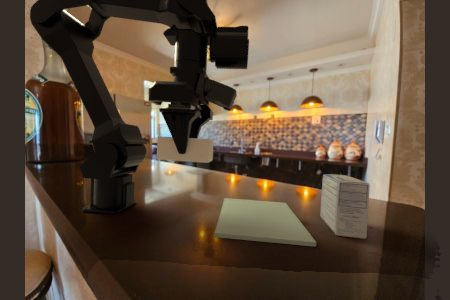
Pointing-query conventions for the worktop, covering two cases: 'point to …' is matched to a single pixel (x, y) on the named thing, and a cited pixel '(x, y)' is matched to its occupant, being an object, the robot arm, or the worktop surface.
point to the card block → (194, 153)
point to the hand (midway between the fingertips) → (186, 153)
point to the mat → (261, 223)
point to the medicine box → (345, 205)
